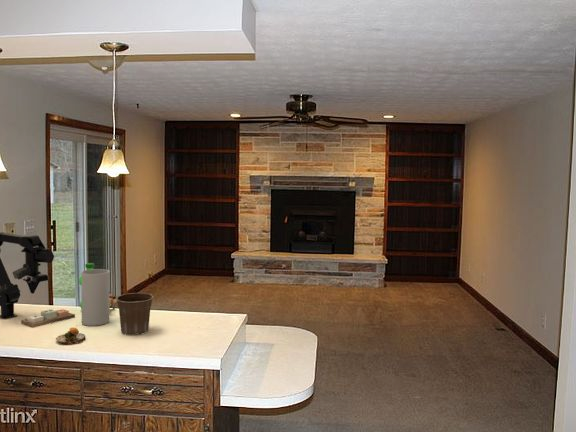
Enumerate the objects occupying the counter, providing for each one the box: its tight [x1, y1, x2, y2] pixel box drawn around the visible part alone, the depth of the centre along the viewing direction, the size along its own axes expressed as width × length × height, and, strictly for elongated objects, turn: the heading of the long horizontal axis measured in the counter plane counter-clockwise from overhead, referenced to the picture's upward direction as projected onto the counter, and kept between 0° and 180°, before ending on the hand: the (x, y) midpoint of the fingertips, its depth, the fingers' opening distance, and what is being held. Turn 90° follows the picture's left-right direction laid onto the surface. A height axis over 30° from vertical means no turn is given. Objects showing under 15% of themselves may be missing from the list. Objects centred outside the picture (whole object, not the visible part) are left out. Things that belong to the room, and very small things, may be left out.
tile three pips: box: [55, 308, 70, 317], centre depth 247 cm, size 5×5×3 cm
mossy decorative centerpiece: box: [55, 325, 86, 346], centre depth 214 cm, size 12×12×8 cm
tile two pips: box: [40, 308, 57, 320], centre depth 242 cm, size 5×5×3 cm
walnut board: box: [20, 312, 76, 329], centre depth 242 cm, size 10×21×2 cm, turn 146°
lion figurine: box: [109, 297, 116, 315], centre depth 259 cm, size 15×5×9 cm, turn 10°
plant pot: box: [115, 292, 154, 336], centre depth 229 cm, size 16×16×16 cm
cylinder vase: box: [80, 268, 110, 327], centre depth 240 cm, size 12×12×25 cm
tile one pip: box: [27, 314, 44, 323], centre depth 236 cm, size 5×5×3 cm
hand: (32, 293), depth 241 cm, fingers closed
